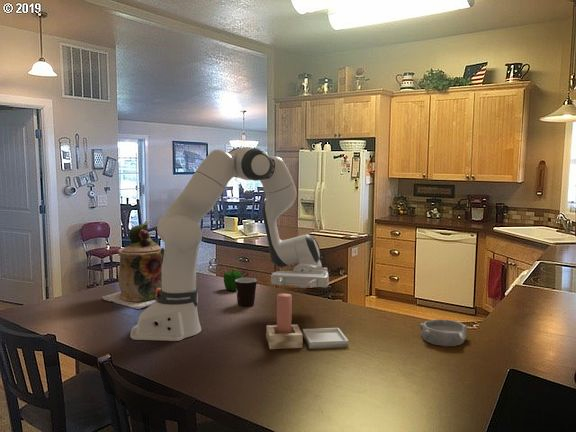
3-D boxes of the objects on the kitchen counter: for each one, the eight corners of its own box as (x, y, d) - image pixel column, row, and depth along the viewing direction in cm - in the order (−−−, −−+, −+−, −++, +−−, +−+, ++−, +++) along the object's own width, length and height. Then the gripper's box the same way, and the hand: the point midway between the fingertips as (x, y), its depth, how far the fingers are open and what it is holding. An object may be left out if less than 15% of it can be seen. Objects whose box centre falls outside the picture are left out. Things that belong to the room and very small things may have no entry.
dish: (466, 335, 156) (466, 321, 155) (467, 350, 143) (468, 334, 142) (420, 330, 160) (421, 316, 160) (417, 344, 147) (418, 329, 147)
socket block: (269, 349, 141) (269, 336, 141) (266, 337, 151) (266, 325, 151) (302, 347, 143) (302, 334, 142) (297, 336, 153) (297, 324, 152)
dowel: (277, 345, 144) (278, 297, 143) (275, 340, 149) (276, 293, 148) (292, 344, 145) (292, 297, 144) (290, 339, 150) (290, 293, 148)
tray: (309, 348, 142) (309, 342, 142) (302, 335, 154) (302, 329, 154) (348, 347, 144) (348, 340, 144) (338, 333, 156) (338, 327, 155)
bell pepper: (222, 288, 214) (222, 266, 213) (240, 287, 216) (240, 265, 215) (224, 292, 206) (224, 270, 205) (243, 291, 208) (243, 269, 207)
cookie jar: (99, 300, 192) (97, 222, 189) (146, 288, 213) (145, 217, 210) (140, 310, 179) (139, 226, 176) (186, 296, 200) (186, 221, 197)
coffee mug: (253, 308, 183) (253, 283, 182) (232, 307, 184) (232, 282, 183) (261, 300, 194) (261, 276, 193) (240, 299, 196) (241, 275, 195)
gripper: (276, 265, 173) (265, 273, 160) (331, 268, 168) (324, 276, 155) (276, 282, 174) (265, 291, 160) (331, 285, 168) (324, 295, 155)
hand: (295, 284), depth 157 cm, fingers open, 8 cm apart
